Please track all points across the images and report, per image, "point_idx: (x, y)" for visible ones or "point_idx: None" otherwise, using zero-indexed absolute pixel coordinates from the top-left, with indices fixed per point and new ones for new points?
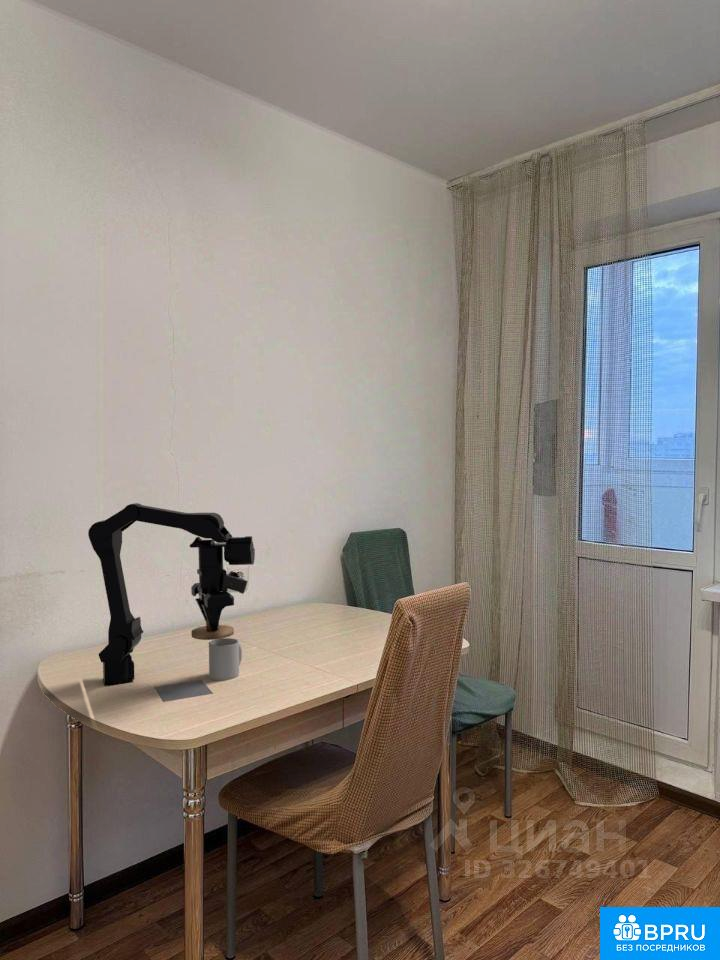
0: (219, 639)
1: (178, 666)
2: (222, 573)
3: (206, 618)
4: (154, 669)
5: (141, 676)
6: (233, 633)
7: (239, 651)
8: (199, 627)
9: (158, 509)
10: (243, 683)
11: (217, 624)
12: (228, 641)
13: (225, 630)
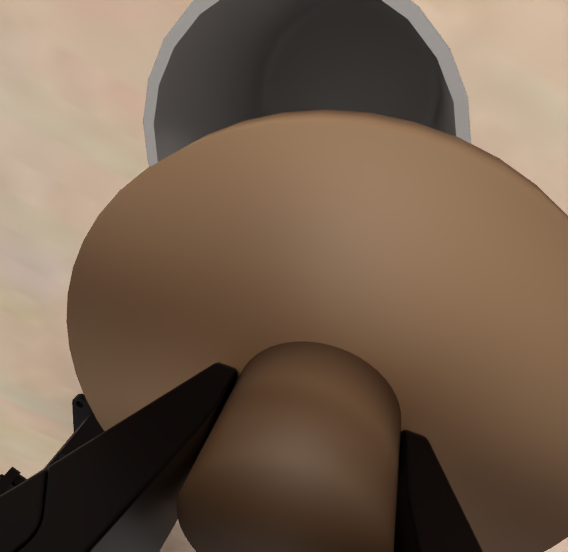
0: (157, 123)
1: (22, 191)
2: None
3: (156, 544)
4: (25, 287)
5: None
6: (551, 200)
7: None
8: (100, 413)
9: None
10: (553, 53)
11: (462, 529)
12: (204, 28)
13: (482, 331)
